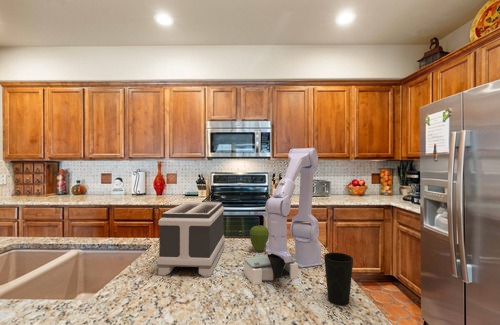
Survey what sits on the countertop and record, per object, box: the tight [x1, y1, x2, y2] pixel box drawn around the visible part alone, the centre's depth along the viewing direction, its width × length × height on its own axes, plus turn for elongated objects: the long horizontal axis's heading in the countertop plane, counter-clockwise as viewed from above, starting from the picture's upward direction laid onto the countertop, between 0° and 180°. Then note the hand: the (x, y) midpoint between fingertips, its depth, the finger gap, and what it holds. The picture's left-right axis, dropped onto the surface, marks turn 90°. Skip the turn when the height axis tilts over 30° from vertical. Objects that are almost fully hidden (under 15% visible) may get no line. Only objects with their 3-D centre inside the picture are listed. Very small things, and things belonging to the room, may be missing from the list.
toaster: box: [156, 201, 226, 278], centre depth 104 cm, size 18×34×21 cm, turn 177°
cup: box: [323, 252, 354, 307], centre depth 72 cm, size 8×8×12 cm
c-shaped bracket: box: [243, 259, 299, 286], centre depth 88 cm, size 16×9×5 cm, turn 110°
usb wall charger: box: [259, 265, 274, 281], centre depth 86 cm, size 4×7×4 cm, turn 92°
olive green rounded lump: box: [249, 224, 269, 253], centre depth 114 cm, size 9×8×12 cm
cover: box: [243, 255, 296, 267], centre depth 89 cm, size 16×8×1 cm, turn 110°
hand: (277, 277), depth 83 cm, fingers closed
